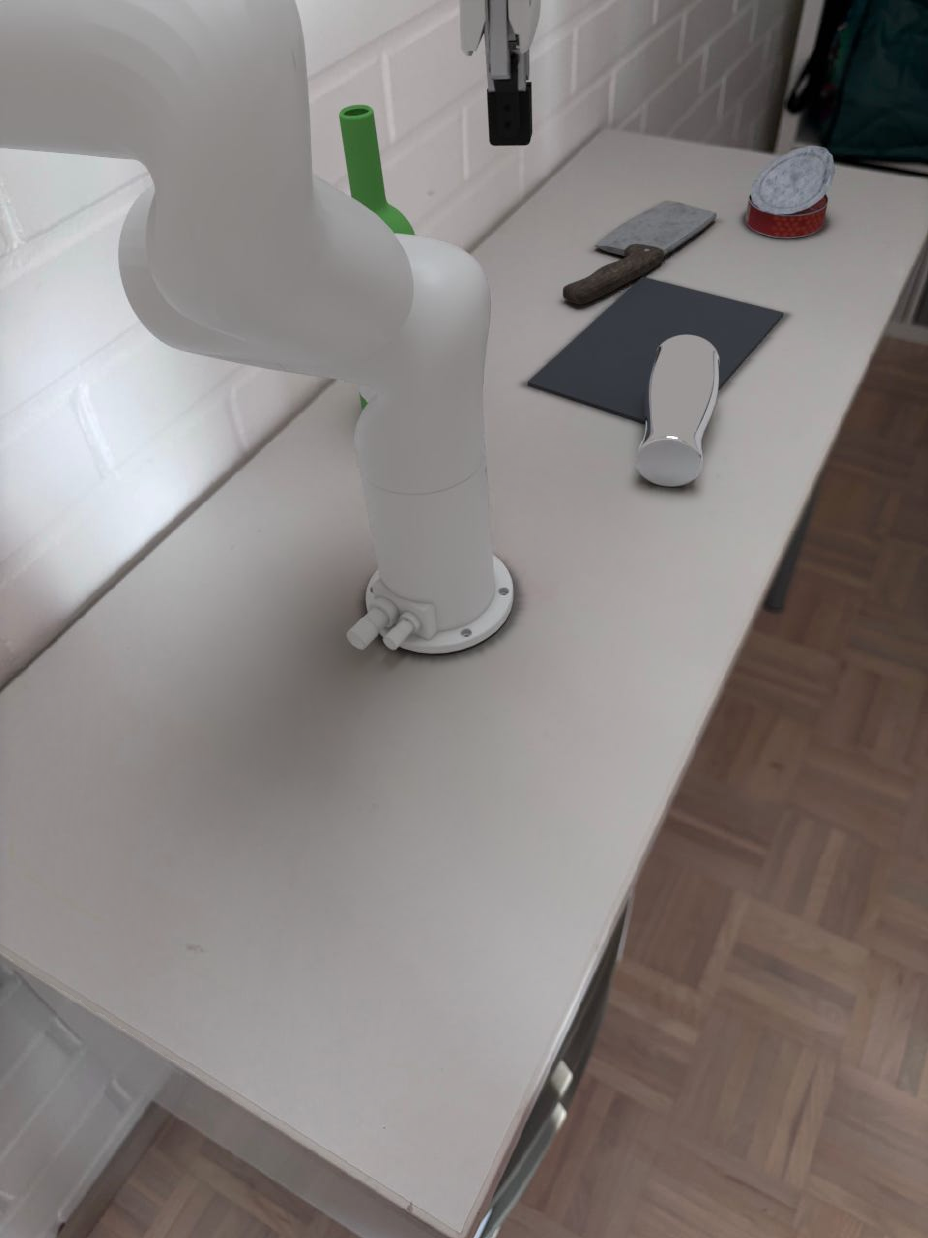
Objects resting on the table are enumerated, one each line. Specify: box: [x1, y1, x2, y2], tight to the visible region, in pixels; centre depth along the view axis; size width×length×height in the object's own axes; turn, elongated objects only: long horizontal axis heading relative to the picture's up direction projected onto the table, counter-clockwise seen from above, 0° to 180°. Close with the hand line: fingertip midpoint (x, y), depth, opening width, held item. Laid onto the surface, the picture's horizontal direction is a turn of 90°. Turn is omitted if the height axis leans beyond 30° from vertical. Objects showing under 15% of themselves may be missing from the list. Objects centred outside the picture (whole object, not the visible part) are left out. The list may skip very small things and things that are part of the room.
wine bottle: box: [338, 104, 416, 411], centre depth 89 cm, size 8×8×30 cm
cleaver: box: [562, 201, 718, 305], centre depth 120 cm, size 30×10×2 cm, turn 141°
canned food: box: [744, 145, 836, 240], centre depth 121 cm, size 11×10×10 cm
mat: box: [527, 276, 784, 424], centre depth 105 cm, size 26×18×1 cm
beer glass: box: [634, 335, 720, 488], centre depth 91 cm, size 7×7×15 cm
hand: (511, 140), depth 74 cm, fingers closed
